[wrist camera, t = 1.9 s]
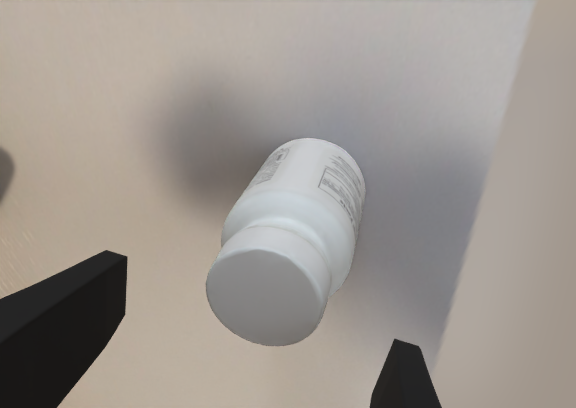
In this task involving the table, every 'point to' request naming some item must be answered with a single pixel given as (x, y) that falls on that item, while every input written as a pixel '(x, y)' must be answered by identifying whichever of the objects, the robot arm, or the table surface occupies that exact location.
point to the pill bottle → (288, 243)
